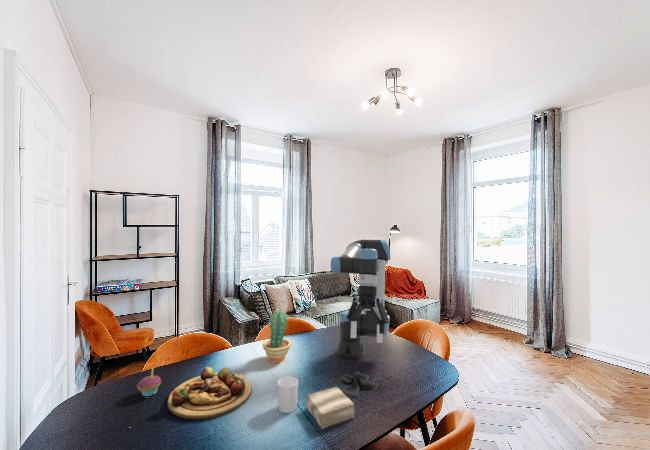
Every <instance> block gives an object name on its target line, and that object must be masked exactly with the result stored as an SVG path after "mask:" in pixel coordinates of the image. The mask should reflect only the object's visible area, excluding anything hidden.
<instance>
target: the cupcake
mask: <svg viewBox="0 0 650 450" xmlns="http://www.w3.org/2000/svg"><path fill="white" fill-rule="evenodd" d="M154 369H155V368H154V367H151V371H150V372H151V373H150V375H147V376H145V377H143V378H142V379H140V380H139V381H138V383H137V384H136V389H137V390H138V391H139V392H141V395H142V397H143V396H150V395H152V394H155V393H156V394H157V391H158V389H159V386H160V385H161V384H162V379H161V377H160V376H158V375H155V374H154ZM156 394H155V395H156Z"/></svg>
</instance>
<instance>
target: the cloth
mask: <svg viewBox="0 0 650 450" xmlns="http://www.w3.org/2000/svg"><path fill="white" fill-rule="evenodd" d="M370 379H371V376H370V375H368V374H366V373H361V372H360V371H355V372H354V373H353V374H352V375H350V374H343V375H342V376H341V377H339V378H338V380H337V383H343V384H345V385H346V384H347V385H346V386H344V387H342V389H341V391H342V392H343V393H344V394H345V395H346V396H347V397H351V398H354V397H355V398H354V399H359V397H360V398H361V396H360V392H361V390H364V391H365V390H367V391H365V392H364V394H366V395H369V394H373V393H374V391H373V390H374V389H377V388H378V387H379V383H377V382H374V381H369V380H370Z"/></svg>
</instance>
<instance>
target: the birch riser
mask: <svg viewBox="0 0 650 450" xmlns="http://www.w3.org/2000/svg"><path fill="white" fill-rule="evenodd" d="M307 408H308V409H307ZM306 409H307V410H308V411H309V412H311V413H312V414H311V413H310V414H311V415H313V416H314V417H313V418H314V420H315V419H316V420H315V421H316V423H317V422H318V423H317V424H318V425H319V427H320V426H321V427H320V428H321V429H322V430H323V428H324V429H326V428H325V427H327V426H330V425H333V424H335V425H337V424H336V423H338V424H340V423H339V422H341V423H343V422H342V421H344V422H346V421H345V420H347V421H349V420H348V419H350V420H352V419H351V418H353V419H354V418H355V403H354V402H353V401H352V400H351V399H350V398H349V396H346V395H345V394H344V393H343V392H342V389H340V388H339V387H338V386H334V387H330V388H327V389H323V390H319V391H316V392H311V393H309V394H307V395H306ZM333 426H334V425H333ZM330 427H331V426H330ZM327 428H328V427H327Z"/></svg>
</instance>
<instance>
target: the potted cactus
mask: <svg viewBox="0 0 650 450" xmlns="http://www.w3.org/2000/svg"><path fill="white" fill-rule="evenodd" d="M288 318H289V316H288V314H287V313H286V312H285V311H283V310H281V309H280V310H278V309H276V310H275V311H274V312H273V313H272V315H270V318H269V329H270V338H269V339H267V340H264V342H263V343H262V349H263V351H265V354H266V356H267V358H268V359H269V360H268V362H270V363H274V364H277V363H282V362H284V361H285V360H286V356H287V355H288V353H289V350H290V348H291V347H292V341H291V340H290V339H288V338H284V337H285V332H286V329H287V327H288Z"/></svg>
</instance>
